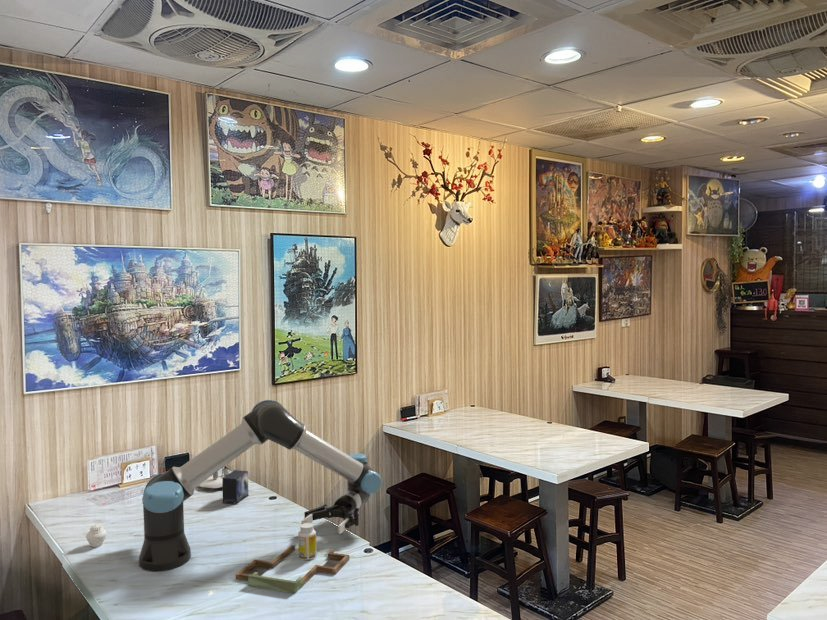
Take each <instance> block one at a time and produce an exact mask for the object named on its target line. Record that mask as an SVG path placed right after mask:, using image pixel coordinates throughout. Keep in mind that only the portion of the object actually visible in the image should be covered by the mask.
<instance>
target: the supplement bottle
mask: <svg viewBox="0 0 827 620" xmlns="http://www.w3.org/2000/svg"><path fill="white" fill-rule="evenodd" d="M297 540H298V558H299V559H300V560H302V561H311V560H314V559H315V558H316V557H317V533H316V529H314V524H313V523H304V524H302V525H300V530H299V531H298V533H297Z"/></svg>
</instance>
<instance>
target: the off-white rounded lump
mask: <svg viewBox="0 0 827 620" xmlns="http://www.w3.org/2000/svg"><path fill="white" fill-rule="evenodd" d="M107 534H108V533H107V531H106V530H105V529H104V528H103V526H102V525H101V524H95V525H92V526H91V527H90V528H89V531H88V532H87V534H86V535H85V538H86V541H87V542H88V544H89V545H90V546H91V548H98V547H101V546H102V545H103V544H104V541H105V539H106V537H107Z"/></svg>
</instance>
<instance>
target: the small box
mask: <svg viewBox="0 0 827 620" xmlns="http://www.w3.org/2000/svg"><path fill="white" fill-rule="evenodd" d="M221 488H222V504H228V505H229V504H230V505H237V504H239V503H240V502H241V501H244V500H245V499H246V498H247V497H249V471H247V470H238V469H237V470H236V469H235V470H233V471H230V473H229V474H228V475H226V476H224V477H223V478H222V487H221Z"/></svg>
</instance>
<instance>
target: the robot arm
mask: <svg viewBox="0 0 827 620" xmlns="http://www.w3.org/2000/svg"><path fill="white" fill-rule="evenodd" d="M267 441H271V442H273V443H275V444H277V445H279V446H282V447H284V448H286V449H287V450H289V451H291V450H295V451H297V452H299V453H300V454H302V455H304V456H306V457H307V458H309V459H310V460H312V461H314V462H315V463H317V464H319V465H321V466H323V467H324V468H326V469H328V470H330V471H331V472H333V473H335V474H336V475H338V476H339V477H341V478H343V479H345V480H347V491H345V493H344V494H342V495H341V496H340V497H339V498H337V499H336V500H335V502H334V503H333V505H332V506H327V504H323V505H321V506H319V507H316V508H313V509H310V510H307V511H304V513H303V514H304V518H303V519H302V520H301V523H300V524H301V525H302V524H304V523H311V524H313V521H317V520H321V519H326V518H327V519H332V518H340V519H343V521H342V522H340V524H338V534H339V535H341V534H342V533H344V531H346V530H347V529H349V528H350V527H353V526H354V525H355V527H359V523H360V522H359V516H360V508H361V507H363V506H364V505H365V504H367V502H369V500H370V499H371V497H372V494H374V493H375V494H376V493H377V492H379V490H380V489H381V487H382V485H383V479H382V477H381V475H380V474H379V473H378V472H377V471H375V470H374V469H373V468H372V467H370V466H369V465H368V462H369V461H368V456H367V455H366V454H364V453H352V454H347V453H346V452H344V451H343V450H341V449H340V448H337V447H336V446H335V445H333V444H331V443H329V442H327V440H324V439H323V438H321V437H319V436H317V435H316V434H314V433H313V432H312V431H310V430H307V428H306V425H305V424H304V423H302V422H300V421H299V420H297V419H296V418H295V417H294V416H293V415H292V414H291V413H290V412H289V411H288V409H286V408H285V407H284V406H283V404H281V403H280V402H278V401H276V400H273V399H265V400H261V401H259V402H257V403H256V404H255V405H254V406H253V407H252V409H251V411H250V412H248V413H247V414H246V415H244V416H243V417H242V418H241V422H240V424H239V425H237V426H236V427H235V428H233V429H232V430H230V431H229V432H228V433H226V434H225V435H223V436H222V437H221V438H220V439H218V440H217V441H214V443H212V444H211V445H210V446H208V447H207V448H204V450H202V451H201V452H199V453H198V454H197V455H195V456H194V457H193V458H191V459H189V460H188V461H187V462H186V463H184V464H183V465H181V466H180V467H179V466H172V467H171V468H169V469H168V470H166V471H165V472H162V473H157V474H156V475H154V476H153V477H151V479H149V480H148V481H147V483H146V485H145V487H144V490H143V493H142V500H141V501H142V506H143V507H142V508H143V535H144V540H143V542H142V547H141V550H140V552H139V557H138V565H139V567H140V568H141V569H142V570H145V571H149V572H150V571H151V572H160V571H166V570H171V569H175V568H177V567H180V566H183V565H184V564H185V563H187V562H189V560H190V559H191V557H192V553H191V552H192V550H191V549H192V548H191V546H190V544H189V541H188V538H187V537H186V534H185V518H184V517H185V515H184V514H185V512H184V511H185V510H184V502H185V501H186V500H188V499H190V497H192V496H193V495H194V492H195V489H196V488H197V487H199V486H198V485H199V484H201V483H202V482H203V481H205V480H206V479H208V478H209V477H212V476H213V474H214V473H216V472H219V471H220V470H222V468H223V469H224V467H225V466H227V465H228V464H229V463H231V462H233V460H235V459H237V458H238V457H239V456H241V455H242V454H243V453H245V452H246V451H247V450H249V449H250V448H252V447H253V446H255V445H263V444H264V443H266V442H267ZM301 525H300V526H301Z"/></svg>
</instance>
